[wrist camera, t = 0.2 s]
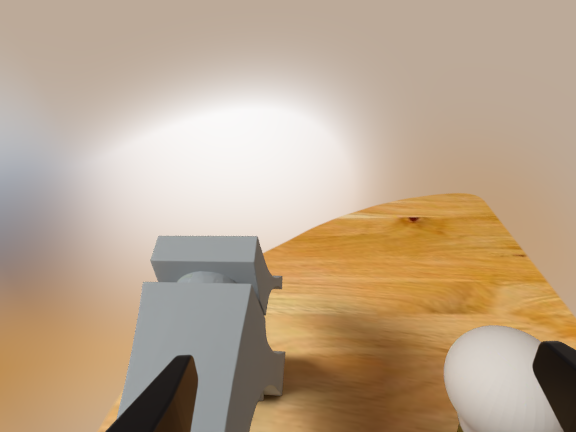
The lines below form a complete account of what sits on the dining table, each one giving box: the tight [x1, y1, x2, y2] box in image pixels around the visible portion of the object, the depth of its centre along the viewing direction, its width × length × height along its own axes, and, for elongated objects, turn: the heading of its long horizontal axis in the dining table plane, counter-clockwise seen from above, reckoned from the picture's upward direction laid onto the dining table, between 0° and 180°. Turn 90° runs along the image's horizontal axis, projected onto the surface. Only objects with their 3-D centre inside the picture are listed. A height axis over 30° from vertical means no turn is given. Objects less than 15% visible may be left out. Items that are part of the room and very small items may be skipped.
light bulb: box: [444, 326, 564, 432], centre depth 19 cm, size 6×6×10 cm
